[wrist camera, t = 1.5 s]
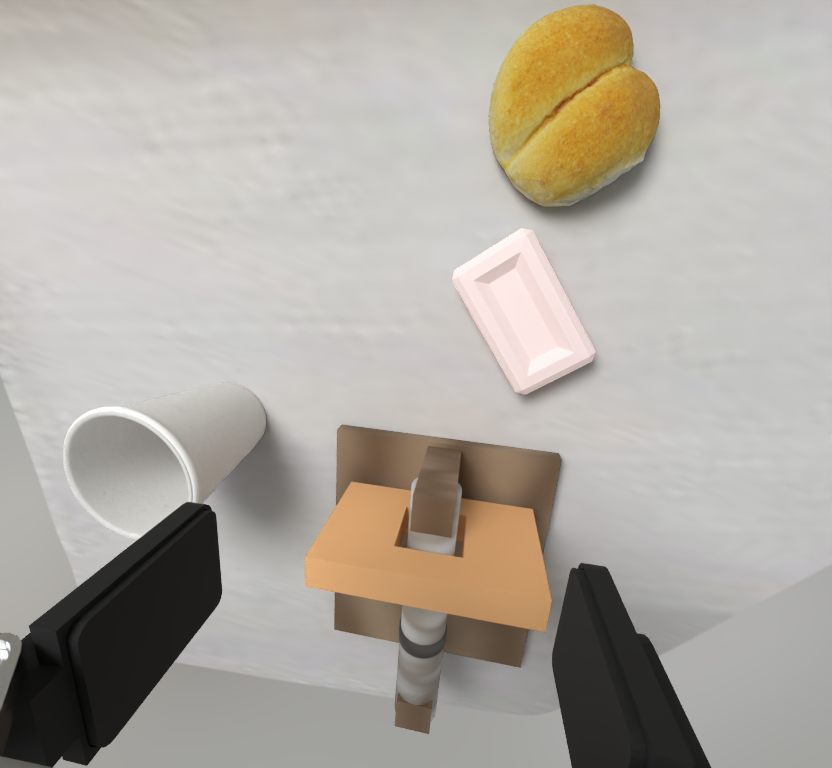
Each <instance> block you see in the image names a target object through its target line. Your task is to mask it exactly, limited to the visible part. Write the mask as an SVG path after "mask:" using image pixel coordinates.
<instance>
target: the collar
mask: <svg viewBox="0 0 832 768" xmlns="http://www.w3.org/2000/svg"><path fill="white" fill-rule="evenodd" d="M410 500H411V491H410V490H404V489H397V488H391V487H384V486H377V485H371V484H364V483H358V482H351V483H350V485H349V486H348V488H347V490H346V491H345V493H344V494H343V496H342V498H341V499H340V501H339V503H338V504H337V506H336V507H335V509H334V511H333V512H332V514H331V515H330V517H329V519H328V520H327V522H326V524H325V525H324V527H323V528H322V530H321V532H320V533H319V535H318V536H317V538H316V540H315V541H314V543H313V545H312V546H311V548H310V549H309V551H308V553H307V554H306V556H305V586H306V587H312V588H317V589H322V590H327V591H332V592H338V593H343V594H348V595H353V596H359V597H364V598H369V599H374V600H379V601H385V602H390V603H395V604H400V605H406V606H411V607H416V608H421V609H426V610H432V611H437V612H442V613H447V614H453V615H458V616H463V617H468V618H473V619H479V620H484V621H489V622H494V623H500V624H505V625H510V626H515V627H520V628H526V629H531V630H536V631H541V632H546V627H547V622H548V618H549V613H550V608H551V603H552V599H551V594H550V589H549V585H548V580H547V575H546V570H545V565H544V561H543V556H542V551H541V546H540V541H539V537H538V532H537V527H536V522H535V517H534V513H533V509H529V508H522V507H516V506H509V505H503V504H496V503H489V502H483V501H476V500H470V499H463V498H461V503H460V512H459V520H458V529H457V537H456V540H457V541H463V550H462V558H461V557H455V556H449V555H443V554H437V553H431V552H426V551H420V550H414V549H408V548H402V547H400V546H401V543H402V539H403V536H404V533H405V532H408V526H409V513H410Z"/></svg>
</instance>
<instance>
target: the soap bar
mask: <svg viewBox="0 0 832 768" xmlns="http://www.w3.org/2000/svg"><path fill="white" fill-rule="evenodd" d="M452 282H453V284H454V285H455V287H456V289H457V291H458V292H459V294H460V296H461V298H462V299H463V301H464V303H465V305H466V306H467V308H468V310H469V312H470V313H471V315H472V317H473V319H474V320H475V322H476V324H477V326H478V327H479V329H480V331H481V333H482V334H483V336H484V338H485V340H486V341H487V343H488V345H489V347H490V348H491V350H492V352H493V354H494V355H495V357H496V359H497V361H498V363H499V364H500V366H501V368H502V370H503V371H504V373H505V375H506V377H507V378H508V380H509V382H510V384H511V385H512V387H513V389H514V391H515V392H516V393H520V394H524V395H526V394H528V393H530V392H532V391H534V390H536V389H538V388H540V387H542V386H544V385H546V384H548V383H550V382H552V381H554V380H556V379H558V378H560V377H562V376H564V375H566V374H568V373H570V372H572V371H574V370H576V369H578V368H580V367H582V366H584V365H586V364H588V363H590V362H592V361H593V358H594V355H595V353H596V351H595V349H594V347H593V345H592V343H591V341H590V340H589V338H588V336H587V334H586V332H585V330H584V328H583V326H582V324H581V322H580V320H579V318H578V317H577V315H576V313H575V311H574V309H573V307H572V305H571V303H570V301H569V299H568V297H567V295H566V294H565V292H564V290H563V288H562V286H561V284H560V282H559V280H558V278H557V276H556V274H555V272H554V271H553V269H552V267H551V265H550V263H549V261H548V259H547V257H546V255H545V253H544V251H543V249H542V248H541V246H540V244H539V242H538V240H537V238H536V236H535V234H534V232H533V230H528V229H524V228H521V229H519V230H518V231H516V232H514V233H513V234H511V235H510V236H508V237H506V238H505V239H503V240H502V241H500V242H499V243H497V244H495V245H494V246H492V247H491V248H489V249H487V250H486V251H484V252H483V253H481V254H479V255H478V256H476V257H475V258H473V259H471V260H470V261H468V262H467V263H465V264H463V265H462V266H460V267H459V268H457V269H456V270H454V274H453V278H452Z"/></svg>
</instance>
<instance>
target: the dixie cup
mask: <svg viewBox="0 0 832 768" xmlns="http://www.w3.org/2000/svg"><path fill="white" fill-rule="evenodd" d="M265 429H266V414H265V411H264V408H263V406H262V404H261V402H260V401H259V399H258V398H257V397H256V395H255V394H254V393H253V392H251V391H250V390H249V389H247V388H246V387H244V386H242V385H240V384H237V383H232V382H222V383H218V384H214V385H209V386H205V387H201V388H197V389H193V390H188V391H184V392H180V393H176V394H172V395H167V396H163V397H159V398H155V399H151V400H146V401H142V402H138V403H134V404H130V405H125V406H121V407H115V406H108V407H101V408H96V409H93V410H91V411H88V412H86V413H85V414H83V415H82V416H80V417H79V418H78V419H77V420H76V421H75V422H74V423H73V424H72V426H71V427H70V429H69V431H68V433H67V435H66V438H65V441H64V447H63V465H64V470H65V474H66V477H67V480H68V483H69V485H70V487H71V489H72V491H73V493H74V495H75V496H76V498H77V499H78V501H79V502H80V503H81V505H82V506H83V507H84V508H85V510H86V511H87V512H88V513H89V514H90V515H91V516H92V517H93V518H95V519H96V520H97V521H98V522H99V523H101V524H102V525H104V526H105V527H107V528H108V529H110V530H112V531H114V532H116V533H118V534H120V535H122V536H125V537H128V538H132V539H136V540H138V539H139V538H141V537H142V536H143V535H144V534H146V533H147V532H148V531H149V530H151V529H152V528H153V527H154V526H156V525H157V524H158V523H160V522H161V521H162V520H163V519H165V518H166V517H167V516H168V515H170V514H171V513H172V512H173V511H175V510H176V509H177V508H178V507H180V506H181V505H182V504H184V503H186V502H193V503H199V504H203V502H204V501H205V500H206V499H207V498H208V497H209V496H210V495H211V494H212V492H213V491H214V490H215V489H216V488H217V487H218V486H219V485H220V484H221V483H222V481H223V480H224V479H225V478H226V477H227V476H228V475H229V474H230V473H231V472H232V470H233V469H234V468H235V467H236V466H237V465H238V464H239V463H240V462H241V461H242V459H243V458H244V457H246V456H247V454H248V453H249V452H250V451H251V450H252V449H253V448H254V446H255V445H256V444H257V443H258V442H259V441H260V439H261V438H262V437H263V435H264V433H265Z"/></svg>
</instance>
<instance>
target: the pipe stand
mask: <svg viewBox="0 0 832 768" xmlns="http://www.w3.org/2000/svg"><path fill="white" fill-rule="evenodd" d="M560 465H561V458H560V455H559V453H552V452H544V451H537V450H529V449H522V448H514V447H506V446H499V445H491V444H484V443H476V442H469V441H461V440H454V439H446V438H438V437H431V436H423V435H416V434H408V433H401V432H393V431H386V430H378V429H370V428H363V427H355V426H348V425H341V426H340V427H339V428H338V430H337V483H336V506H337V504H338V503H339V501H340V499H341V498H342V496H343V494H344V493H345V491H346V490H347V488H348V486H349V485H350V483H351V482H358V483H364V484H371V485H377V486H384V487H391V488H397V489H404V490H410V491H411V500H410V513H409V526H408V532H405V533H404V536H403V539H402V543H401V546H400V547H402V548H408V549H414V550H420V551H426V552H431V553H437V554H443V555H449V556H455V557H461V558H462V550H463V541H457V540H456V537H457V529H458V520H459V512H460V503H461V498H463V499H470V500H476V501H483V502H489V503H496V504H503V505H509V506H516V507H522V508H529V509H533V513H534V517H535V522H536V527H537V532H538V537H539V541H540V546H541V551H542V556H543V551H544V546H545V541H546V536H547V531H548V526H549V521H550V516H551V511H552V505H553V500H554V495H555V490H556V485H557V480H558V475H559V470H560ZM334 630H339V631H344V632H349V633H354V634H359V635H364V636H369V637H373V638H378V639H383V640H388V641H393V642H398V643H399V656H398V669H397V682H396V695H395V711H396V717H395V726H397V727H402V728H406V729H410V730H414V731H419V732H423V733H427V734H429V728H430V722H431V721H432V719H433V718H434V716H435V712H436V705H437V697H438V688H439V680H440V672H441V663H442V655H443V652H447V653H452V654H456V655H461V656H466V657H471V658H476V659H481V660H486V661H491V662H496V663H500V664H505V665H510V666H515V667H520V668H521V663H522V658H523V653H524V648H525V643H526V638H527V633H528V629H526V628H520V627H515V626H510V625H505V624H500V623H494V622H489V621H484V620H479V619H473V618H468V617H463V616H458V615H453V614H447V613H442V612H437V611H432V610H426V609H421V608H416V607H411V606H406V605H400V604H395V603H390V602H385V601H379V600H374V599H369V598H364V597H359V596H353V595H348V594H343V593H338V592H335V623H334Z"/></svg>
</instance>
